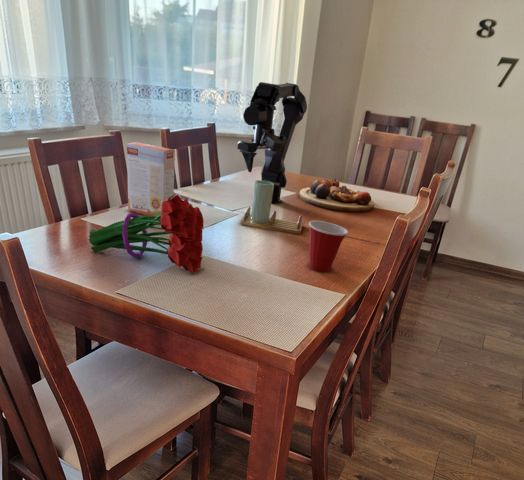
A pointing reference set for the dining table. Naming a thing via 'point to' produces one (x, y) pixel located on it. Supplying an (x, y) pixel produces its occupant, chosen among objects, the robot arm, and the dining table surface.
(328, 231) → the plastic cup
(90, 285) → the dining table surface
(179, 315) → the dining table surface
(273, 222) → the drying rack
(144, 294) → the dining table surface
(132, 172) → the cracker box
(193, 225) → the bouquet
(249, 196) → the dining table surface
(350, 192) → the wooden plate
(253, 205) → the tumbler
